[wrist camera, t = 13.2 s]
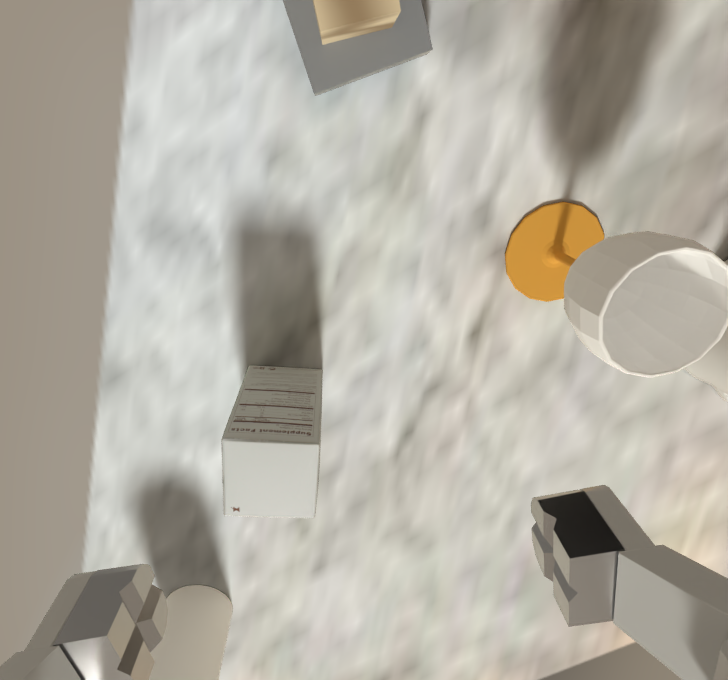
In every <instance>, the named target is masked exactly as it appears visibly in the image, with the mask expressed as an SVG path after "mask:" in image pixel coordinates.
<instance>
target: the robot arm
mask: <svg viewBox="0 0 728 680" xmlns="http://www.w3.org/2000/svg"><path fill="white" fill-rule="evenodd" d="M725 263H726V264H727V265H728V259H727V260H726V261H725ZM685 370H686V371H687V372H688V373H689V374H691V375H692V376H693V377H695V378H697V379H698V380H701V381H703V382H705V383H707V384H709V385H711V386H713V387H714V388H715V390H716V391H717V393H718V394H719V396H720V397H721V398H722V399H723V400H724V401H726V402H728V326H727V328H726V330H725V332H724V334H723V336H722V338H721V339H720V340H719V341H718V342H717V343H716V344H715V345H714V346H713V347H712V348H711V349H710V350H709V351H708V352H707V353H706V354H705V355H704V356H703V357H702V358H701V359H700V360H698V361H696V362H694V363H692V364H690V365H689V366H687V367H685ZM531 513H532V515H533V517H534V519H535V521H536V523H535V524H534V526H533V527H532V541H533V546H534V550H535V555H536V557H537V560H538V563H539V566H540V568H541V570H542V572H543V574H544V576H545V577H547V578H548V579H550V580H551V581H553V593H554V598H555V600H556V602H557V604H558V606H559V608H560V610H561V612H562V614H563V616H564V618H565V620H566V622H567V624H568V626H569V627H570V626H578V625H585V624H592V623H600V622H607V621H613V623H614V624H615V625H616V626H617V627H619V628H620V629H621V630H622V631H623V632H625V633H626V634H627V635H628V636H630V637H631V638H632V639H633V640H634V641H636V642H637V643H638V644H639V645H641V646H642V647H643V648H644V649H645V650H647V651H648V652H649V653H651V654H652V655H653V656H654V657H655V658H656V659H658V660H659V661H660V662H661V663H663V664H664V665H665V666H666V667H667V668H669V669H670V670H671V671H672V672H674V673H675V674H676V675H677V676H678V677H680V678H681V679H682V680H728V578H726V577H724V576H722V575H720V574H718V573H716V572H714V571H712V570H710V569H708V568H707V567H705V566H703V565H701V564H699V563H697V562H695V561H693V560H691V559H689V558H687V557H686V556H684V555H682V554H680V553H678V552H676V551H674V550H672V549H670V548H668V547H666V546H664V545H657V546H655V545H654V544H653V542H652V541H651V540H650V539H649V537H648V536H647V535H646V533H645V532H644V531H643V530H642V528H641V527H640V526H639V525H638V523H637V522H636V521H635V520H634V518H633V517H632V516H631V514H630V513H629V512H628V511H627V509H626V508H625V507H624V506H623V504H622V503H621V502H620V500H619V499H618V498H617V497H616V495H615V494H614V493H613V492H612V490H611V489H610V488H609V487H607V486H606V485H601V486H595V487H590V488H584V489H580V490H573V491H567V492H562V493H556V494H551V495H545V496H540V497H534V498H532V501H531ZM154 577H155V575H154V573H153V571H152V569H151V567H150V565H148V564H139V565H132V566H125V567H118V568H111V569H104V570H98V571H93V572H86V573H79V574H74V575H73V576H71V577H70V578H69V579H68V580H67V581H66V582H65V584H64V585H63V587H62V589H61V591H60V592H59V594H58V596H57V597H56V599H55V601H54V602H53V604H52V606H51V607H50V609H49V610H48V612H47V614H46V615H45V617H44V619H43V621H42V622H41V624H40V625H39V627H38V629H37V630H36V632H35V634H34V635H33V637H32V639H31V640H30V642H29V644H28V645H27V647H26V649H25V650H24V651H22V652H17V653H15V654H14V655H13V656H12V657H11V658H9V659H8V660H7V661H6V662H5V663H4V664H2V665H1V666H0V680H149V677H150V674H151V671H152V668H153V665H154V663H155V661H154V658H153V656H152V653H151V651H152V650H153V649H154V648H155V647H156V646H157V645H158V644H159V643H160V641H161V640H162V639H163V636H164V632H165V629H166V626H167V616H168V607H167V601H166V598H165V595H164V593H163V591H162V590H161V589H159V588H157V587H156V586H154V585H152V582H153V579H154Z"/></svg>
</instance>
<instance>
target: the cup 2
mask: <svg viewBox="0 0 728 680" xmlns="http://www.w3.org/2000/svg"><path fill="white" fill-rule="evenodd" d="M505 260H506V273H507V275H508V276H509V278H510V280H511V282H512V284H513V285H514V287H515V289H517V290H518V291H520V292H521V293H523V294H524V295H525V296H527V297H528V298H530V299H536V300H541V301H546V302H548V301H553V300H558V299H563V298H564V309H565V311H566V314H567V316H568V318H569V320H570V322H571V324H572V326H573V328H574V330H575V332H576V334H577V336H578V338H579V339H580V340H581V342H582V343H583V344H584V345H585V346H586V347H587V348H588V349H589V350H590V352H592V353H593V354H595V355H596V356H597V357H599V358H600V359H602V360H603V361H605V362H606V363H607V364H609V365H611V366H613V367H615V368H616V369H618V370H620V371H622V372H624V373H626V374H631V375H637V376H643V377H649V378H650V377H655V376H661V375H666V374H671V373H676V372H677V371H679V370H681V369H683V368H685V367H687V366H689V365H690V364H692V363H694V362H696V361H698V360H700V359H701V358H702V357H703V356H704V355H705V354H706V353H707V352H708V351H709V350H710V349H711V348H712V347H713V346H714V345H715V344H716V343H717V342H718V341H719V340H720V339H721V338H722V336H723V334H724V332H725V330H726V328H727V326H728V265H727V264H726V263H725V262H724V261H723V260H722V259H720V258H719V257H718V256H717V255H716V254H715V253H713V252H712V251H711V250H709V249H707V248H706V247H704V246H702V245H701V244H699V243H697V242H695V241H694V240H690V239H685V238H680V237H676V236H671V235H666V234H660V233H655V232H649V231H645V232H635V233H627V234H623V235H618V236H613V237H608V238H606V239H604V233H603V230H602V228H601V226H600V223H599V221H598V219H597V217H596V216H595V215H593V214H592V213H591V212H590V211H588V210H587V209H586V208H585V207H583V206H581V205H577V204H572V203H567V202H559V203H554V204H549V205H544V206H542V207H540V208H538V209H537V210H535V211H534V212H532V213H531V214H529V215H527V216H526V217H524V219H523V220H522V221H521V223H520V224H519V225H518V226H517V228H516V229H515V230H514V232H513V233H512V234H511V237H510V240H509V243H508V246H507V249H506V252H505Z"/></svg>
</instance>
